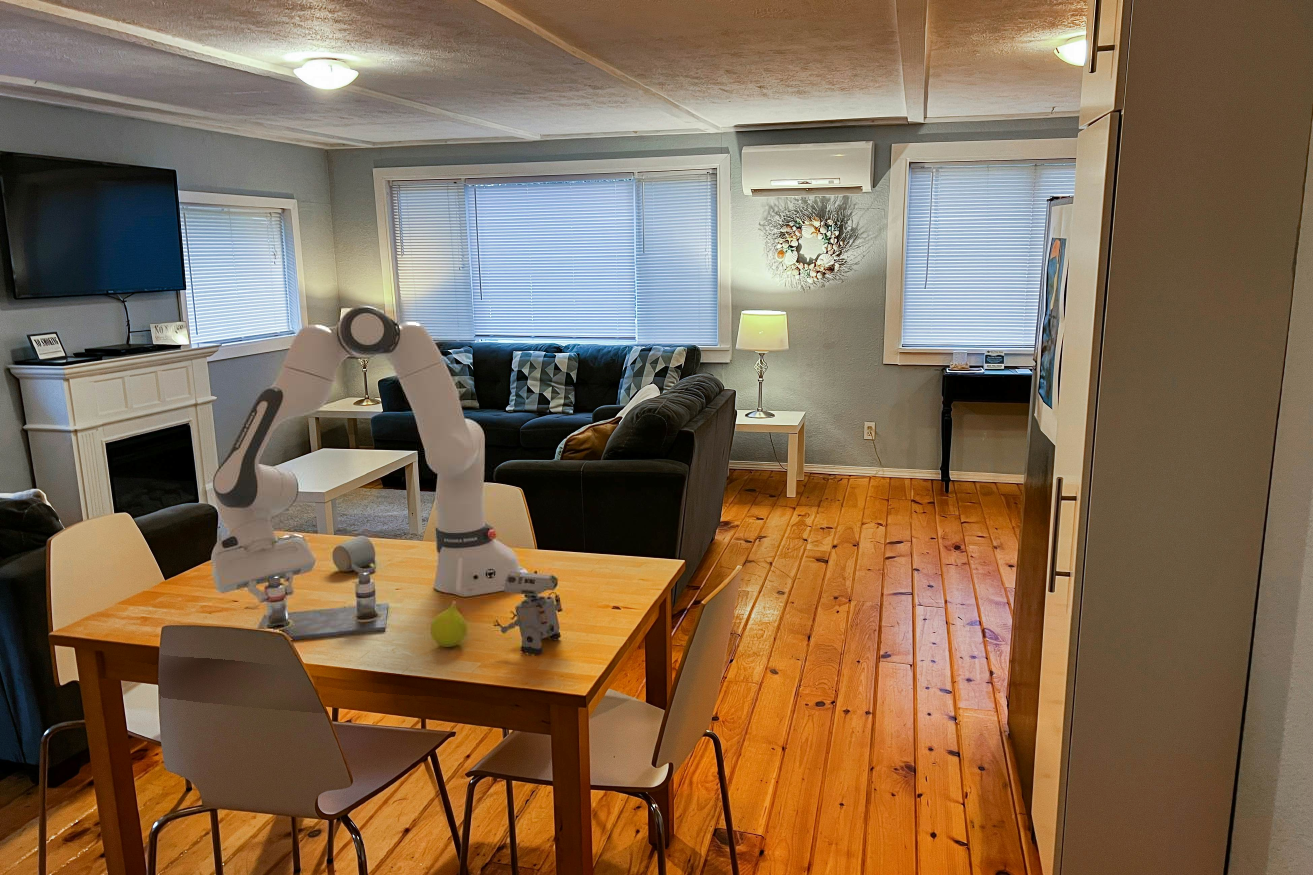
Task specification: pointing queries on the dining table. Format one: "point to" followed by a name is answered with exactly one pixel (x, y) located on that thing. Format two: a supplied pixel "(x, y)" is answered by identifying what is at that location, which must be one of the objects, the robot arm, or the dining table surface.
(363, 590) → the dark-banded small bottle
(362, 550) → the ceramic mug
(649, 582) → the dining table surface
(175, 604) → the dining table surface
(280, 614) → the red-banded small bottle
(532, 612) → the figurine
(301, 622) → the plate
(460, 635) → the ornament
